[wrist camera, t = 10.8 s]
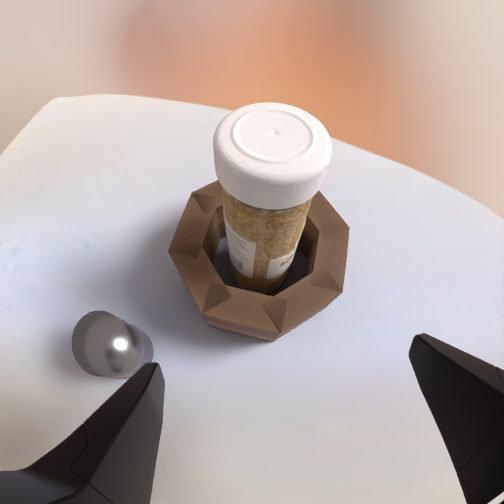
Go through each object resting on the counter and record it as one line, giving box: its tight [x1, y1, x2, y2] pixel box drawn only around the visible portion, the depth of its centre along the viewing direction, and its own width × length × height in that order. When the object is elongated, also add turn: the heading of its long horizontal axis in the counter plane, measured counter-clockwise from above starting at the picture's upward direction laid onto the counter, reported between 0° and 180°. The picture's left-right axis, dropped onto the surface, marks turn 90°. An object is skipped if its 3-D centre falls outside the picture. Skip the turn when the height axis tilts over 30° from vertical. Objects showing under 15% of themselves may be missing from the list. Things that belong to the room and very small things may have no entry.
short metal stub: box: [72, 311, 153, 377], centre depth 17 cm, size 4×4×5 cm
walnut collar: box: [168, 180, 349, 342], centre depth 20 cm, size 11×11×4 cm
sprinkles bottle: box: [213, 103, 332, 294], centre depth 16 cm, size 5×5×14 cm
